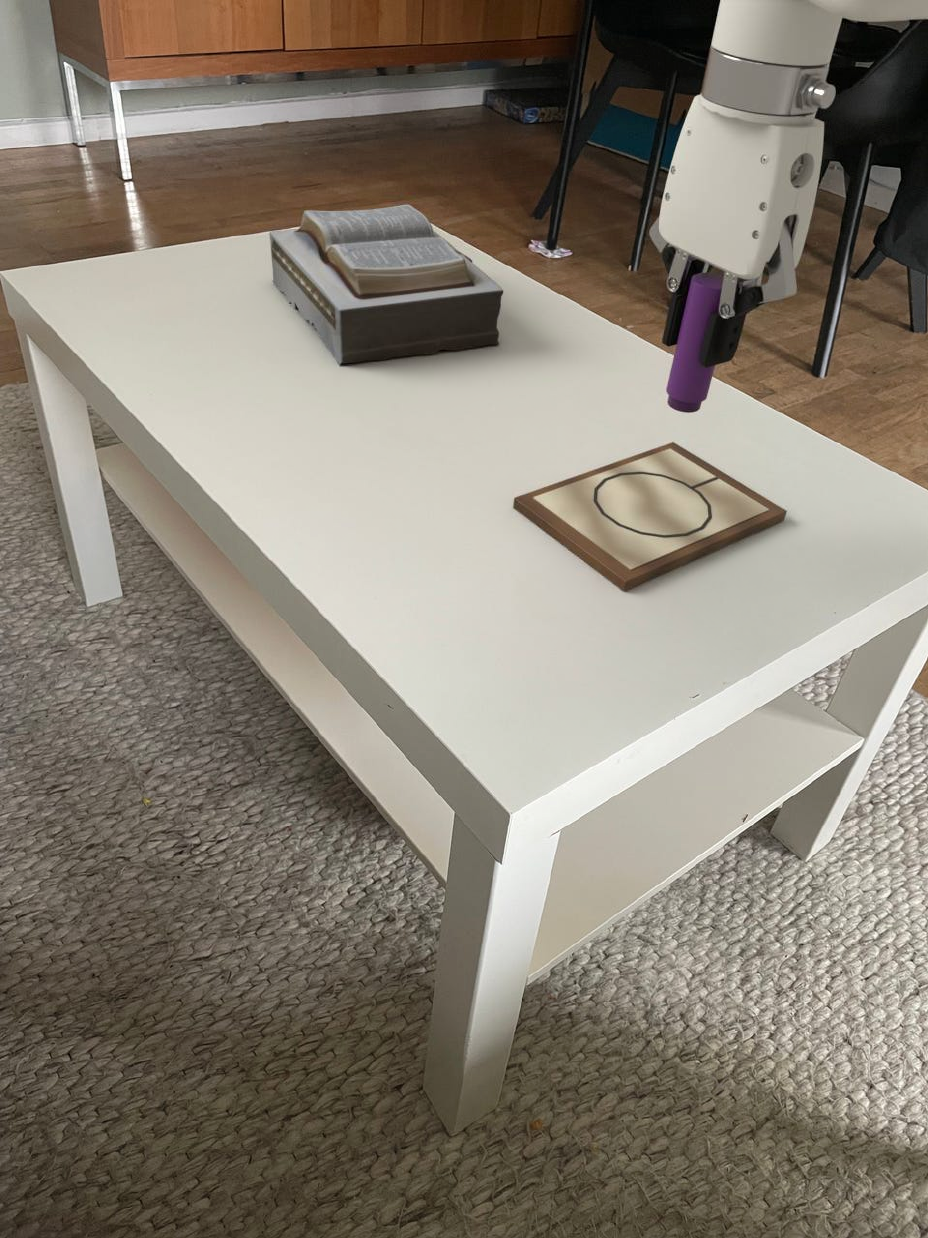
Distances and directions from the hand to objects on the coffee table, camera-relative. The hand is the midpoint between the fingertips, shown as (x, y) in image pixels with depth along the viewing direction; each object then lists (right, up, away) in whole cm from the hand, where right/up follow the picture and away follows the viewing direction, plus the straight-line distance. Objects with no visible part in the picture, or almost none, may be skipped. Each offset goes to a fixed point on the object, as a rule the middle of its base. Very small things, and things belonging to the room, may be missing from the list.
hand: (697, 349), depth 76 cm
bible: (-27, +15, +42) cm, 52 cm away
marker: (0, -4, +3) cm, 5 cm away
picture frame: (-1, -11, +12) cm, 17 cm away
